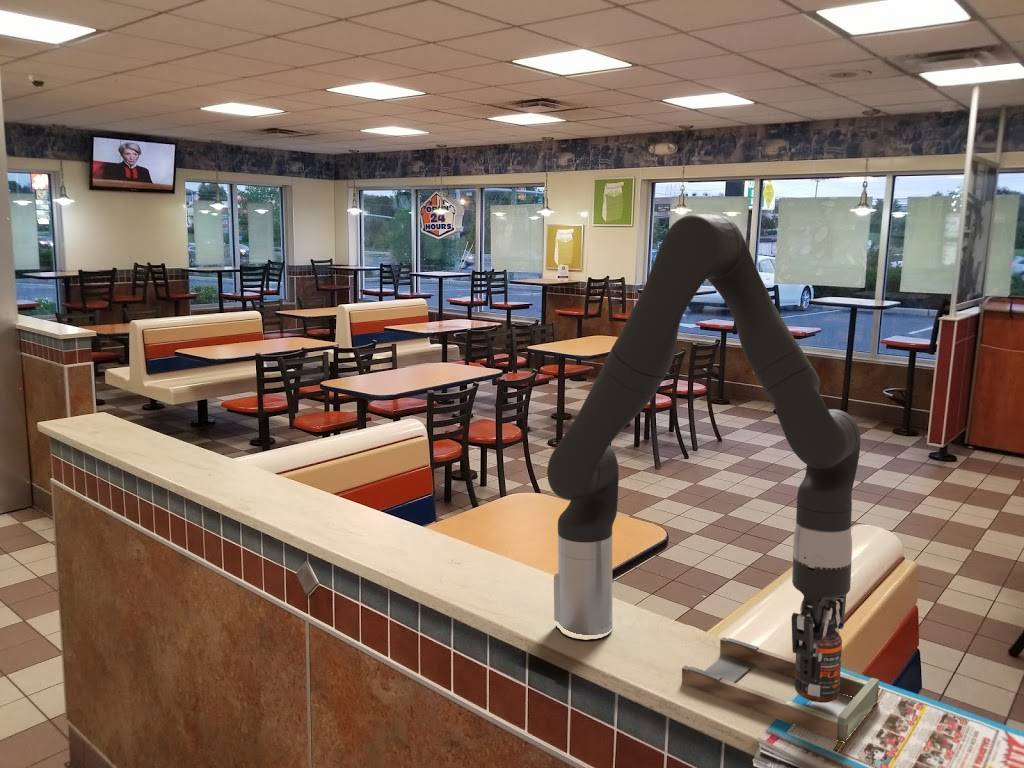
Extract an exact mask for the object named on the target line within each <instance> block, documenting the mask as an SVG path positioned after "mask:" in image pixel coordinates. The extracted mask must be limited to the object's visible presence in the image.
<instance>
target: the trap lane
mask: <svg viewBox="0 0 1024 768" xmlns="http://www.w3.org/2000/svg"><path fill="white" fill-rule="evenodd" d="M719 643H720V644H719V654H720V655H722V657H720V658H719V659H718V660H716V661H715V662H714V663H712V664H711V665H710V666H709V667H708V668H706V669H705V670H703V669H700V668H698V667H695V666H688V665H684V666H683V667H682V668H681V684H683V685H685V686H688V687H690V688H693V689H696V690H698V691H700V692H704V693H706V694H709V695H712V696H715V697H716V698H720V699H723V700H725V701H728V702H731V703H733V704H736V705H738V706H741V707H744V708H746V709H750V710H752V711H754V712H758V713H760V714H763V715H766V716H769V717H771V718H774V719H776V720H779V721H781V720H782V722H784V723H787V722H788V724H790V725H792V724H795V725H796V726H795V725H794V726H795V727H798V728H800V729H803V730H805V731H808V732H812V733H814V734H816V735H819V736H822V737H825V738H828V739H831V740H833V739H834V740H833V741H835V740H838V741H844V742H845V741H846V739H847V738H848V737H849V735H850V734H851V733H852V732H853V731H854V729H855V728H856V727H857V726H858V725H859V723H860V722H861V721H862V719H863V718H864V716H866V714H867V713H868V712H869V710H870V709H871V708H872V706H873V705H874V704H875V703H876V702H877V700H878V701H879V685H880V679H878V678H875V677H871V678H869V679H868V680H864V679H861V678H857V677H855V676H851V675H848V674H846V673H842V672H840V678H841V679H840V690H839V693H841V694H840V695H842V694H845V695H848V696H852V697H854V698H851V701H849V703H848V704H847V705H846V707H844V709H843V710H842V711H841V712H840V713H839V714H838V716H837V717H836V716H834V715H831V714H828V713H826V712H822V711H819V710H817V709H814V708H811V707H808V706H805V705H802V704H799V703H796V702H794V701H791V700H788V701H787V700H785V699H782V698H780V697H779V698H778V697H776V696H773V695H770V694H767V693H764V692H761V691H759V690H756V689H753V688H751V687H748V686H745V685H742V684H739V683H737V682H738V681H739V680H741V678H743V677H744V676H745V675H746V674H748V673H749V672H750V671H751V670H753V668H755V667H757V668H761V669H763V670H768V671H770V672H772V673H776V674H779V675H782V676H785V677H788V678H791V679H794V680H795V667H796V659H794V658H790V657H787V656H783V655H781V654H777V653H774V652H771V651H768V650H765V649H762V648H760V646H757V645H753V644H749V643H746V642H743V641H740V640H737V639H733V638H731V637H728V638H726V637H721V638H720V641H719ZM845 695H844V696H845ZM848 696H847V697H848ZM859 726H860V725H859ZM838 741H837V742H838ZM846 742H847V741H846Z"/></svg>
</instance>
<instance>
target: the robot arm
mask: <svg viewBox="0 0 1024 768" xmlns="http://www.w3.org/2000/svg"><path fill="white" fill-rule="evenodd" d="M658 248H659V249H658V251H657V254H656V256H655V259H654V261H653V264H652V266H651V269H650V272H649V274H648V277H647V280H646V282H645V284H644V286H643V289H642V291H641V293H640V295H639V297H638V299H637V300H636V303H635V305H634V307H633V308H632V310H631V312H630V314H629V315H628V318H627V319H626V321H625V324H624V326H623V328H622V330H621V332H620V333H619V335H618V336H617V338H616V340H615V342H614V344H613V346H612V347H611V350H610V351H609V353H608V355H607V357H606V358H605V361H604V363H603V364H602V367H601V369H600V372H599V373H598V376H597V377H596V379H595V381H594V383H593V385H592V387H591V388H590V391H589V392H588V394H587V396H586V398H585V399H584V401H583V404H582V406H581V408H580V410H579V411H578V413H577V415H576V417H575V419H574V420H573V421H572V423H571V425H570V426H569V427H568V429H567V430H566V432H565V434H564V435H563V436H562V438H561V440H559V442H558V443H557V445H556V447H555V448H554V450H553V451H552V454H551V455H550V456H549V457H550V458H549V459H548V464H547V469H546V470H547V471H546V474H547V480H548V485H549V487H550V488H551V491H552V492H553V493H554V494H555V495H556V496H557V497H559V498H561V499H564V500H569V501H570V502H569V504H568V505H567V507H566V508H565V509H564V510H563V511H562V512H561V513H560V515H559V516H558V520H557V551H558V552H557V553H558V555H557V557H558V558H557V559H558V560H557V562H558V567H557V571H558V572H557V573H555V574H554V575H553V601H554V602H553V618H554V619H553V621H554V620H555V621H557V622H559V624H560V625H561V626H562V627H563V628H564V629H566V630H568V631H570V632H573V633H576V634H582V635H598V634H604V633H607V632H609V631H610V630H611V629H612V628H613V620H614V618H613V605H614V604H613V603H614V602H613V525H614V523H615V520H616V518H617V514H618V501H619V500H618V499H619V497H618V496H619V480H620V479H619V478H620V477H619V474H620V473H619V470H620V469H619V463H618V458H617V455H616V453H615V451H614V449H613V447H612V446H611V444H612V442H613V441H614V439H615V438H616V437H617V436H618V435H619V433H621V431H623V430H624V429H625V428H626V427H627V426H628V425H629V424H630V423H631V422H632V421H633V420H634V419H635V418H636V417H637V416H638V415H639V414H640V413H641V412H642V411H643V410H644V409H645V408H646V406H648V404H649V403H650V402H651V400H652V399H653V398H654V396H655V395H656V393H657V391H658V390H659V388H660V386H661V385H662V383H663V381H664V379H665V377H666V376H667V374H668V373H669V370H670V369H671V366H672V363H673V361H674V359H675V355H676V350H677V349H676V348H677V343H678V334H679V329H680V325H681V322H682V319H683V317H684V314H685V312H686V310H687V308H688V307H689V305H690V304H691V302H692V300H693V298H694V297H695V295H697V293H698V291H699V290H700V288H701V287H702V285H703V284H704V283H705V282H706V280H708V282H709V283H710V284H711V285H712V287H713V288H714V289H715V290H716V291H717V293H719V295H720V296H721V298H722V299H723V302H725V304H726V306H727V308H728V309H729V311H730V314H731V317H732V319H733V322H734V324H735V327H736V332H737V334H738V335H737V336H738V339H739V343H740V345H741V348H742V349H741V350H742V352H743V354H744V355H743V356H744V357H745V359H746V361H747V363H748V365H749V367H750V369H751V371H752V372H753V374H754V376H755V377H756V379H757V380H758V382H759V383H760V385H761V387H762V388H763V390H764V392H765V394H766V395H767V396H768V397H769V399H770V400H771V403H773V407H774V409H775V412H776V413H775V414H776V416H777V419H778V421H779V423H780V426H781V428H782V431H783V434H784V437H785V439H786V441H787V444H788V445H789V447H790V449H792V452H793V453H794V454H795V455H796V456H797V458H798V459H799V460H800V461H801V462H803V463H804V464H805V465H806V471H805V475H804V478H803V480H802V481H801V483H800V484H799V487H798V489H797V496H796V518H795V521H796V522H795V528H794V534H793V549H792V553H793V554H792V580H791V581H792V585H793V587H794V588H795V589H796V590H797V591H799V592H800V593H801V594H802V595H803V598H802V601H801V603H800V607H799V609H800V610H799V612H800V613H796V612H793V613H792V614H791V641H792V642H791V643H792V646H791V647H792V653H793V654H795V655H796V654H800V677H801V678H802V679H805V680H808V681H811V682H815V681H816V680H817V678H818V654H819V648H820V643H821V641H823V640H825V637H826V632H827V627H828V622H829V621H830V620H831V617H834V618H835V621H836V622H835V627H836V628H835V630H836V632H837V633H838V634H839V635H840V630H843V628H844V625H845V624H844V623H845V617H846V615H845V614H846V606H847V605H846V602H847V594H849V592H850V591H851V581H852V577H851V576H852V560H853V559H852V558H853V538H852V537H853V536H852V514H853V513H852V512H853V511H852V510H853V509H852V507H853V499H852V496H853V495H852V494H853V488H854V483H855V480H856V475H857V469H858V464H859V459H860V453H861V452H860V451H861V432H860V429H859V426H858V424H857V422H856V420H855V419H854V418H853V417H852V415H850V414H849V413H848V412H846V411H843V410H840V409H837V408H835V409H834V408H833V409H831V408H830V409H828V406H826V404H825V402H824V400H823V398H822V395H821V393H820V391H819V389H820V386H821V381H820V378H819V375H818V373H817V372H816V370H815V368H814V367H813V365H812V363H811V362H810V360H809V358H808V357H807V356H806V354H805V352H804V351H803V349H802V347H801V346H800V345H799V343H798V342H797V339H796V338H795V337H794V336H793V333H792V332H791V331H790V329H789V328H788V326H787V324H786V323H785V321H784V320H783V318H782V316H781V314H780V312H779V311H778V309H777V307H776V305H775V304H774V301H773V299H772V297H771V296H770V293H769V292H768V289H767V287H766V285H765V283H764V282H763V279H762V276H761V275H760V273H759V271H758V269H757V266H756V264H755V260H754V259H753V256H752V253H751V251H750V249H749V247H748V245H747V242H746V240H745V238H744V236H743V233H742V232H741V230H740V228H739V227H738V225H737V224H736V223H735V222H734V221H733V220H731V219H730V218H728V217H726V216H724V215H719V214H711V213H710V214H709V213H708V214H707V213H706V214H705V213H704V214H703V213H697V214H695V213H692V214H687V215H685V216H682V217H681V218H678V220H676V221H675V222H674V223H673V224H672V225H671V226H670V228H669V229H668V230H667V231H666V234H665V235H664V237H663V239H662V241H661V244H660V247H658ZM813 629H817V630H820V631H819V632H818V633H814V632H813ZM839 629H840V630H839ZM612 630H613V629H612ZM813 638H814V645H813ZM805 643H806V644H807V645H805Z"/></svg>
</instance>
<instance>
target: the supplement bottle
mask: <svg viewBox="0 0 1024 768" xmlns="http://www.w3.org/2000/svg"><path fill="white" fill-rule="evenodd" d="M835 622H836V621H835V618H834V617H831V620H830V621H829V622H828V627H827V632H826V637H825V640H823V641H821V643H820V648H819V654H818V678H817V680H816V681H815V682H811V681H808V680H805V679H802V678H801V677H800V654H796V653H795V660H796V667H795V679H794V689H795V691H796V693H797V694H798V695H799V696H800V697H802V698H803V699H805V700H807V701H810V702H814V703H821V704H823V703H824V704H825V703H826V704H827V703H831V702H833V701H836V700H837V699H838V698H839V696H840V694H839V690H840V679H841V678H840V673H841V669H842V668H841V667H842V666H841V665H842V651H843V650H842V649H843V645H842V644H843V639H842V636H841V635H840V633H839V634H838V633H837V632H836V630H835V628H836V627H835ZM819 631H820V630H817V629H813V632H814V633H818V632H819ZM805 645H807V644H806V643H805ZM813 645H814V638H813Z"/></svg>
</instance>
